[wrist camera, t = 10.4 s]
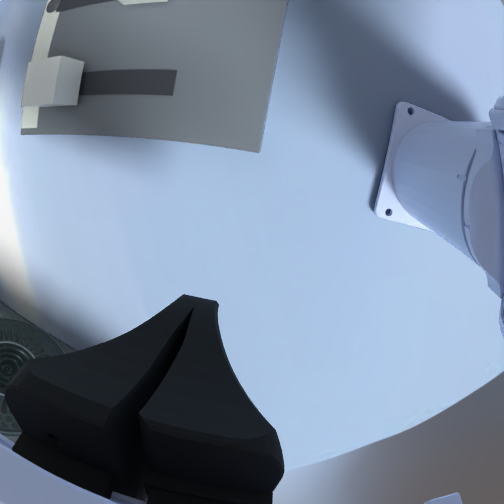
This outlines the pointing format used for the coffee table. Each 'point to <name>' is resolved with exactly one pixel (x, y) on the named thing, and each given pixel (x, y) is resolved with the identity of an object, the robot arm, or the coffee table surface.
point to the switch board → (164, 69)
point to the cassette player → (20, 357)
